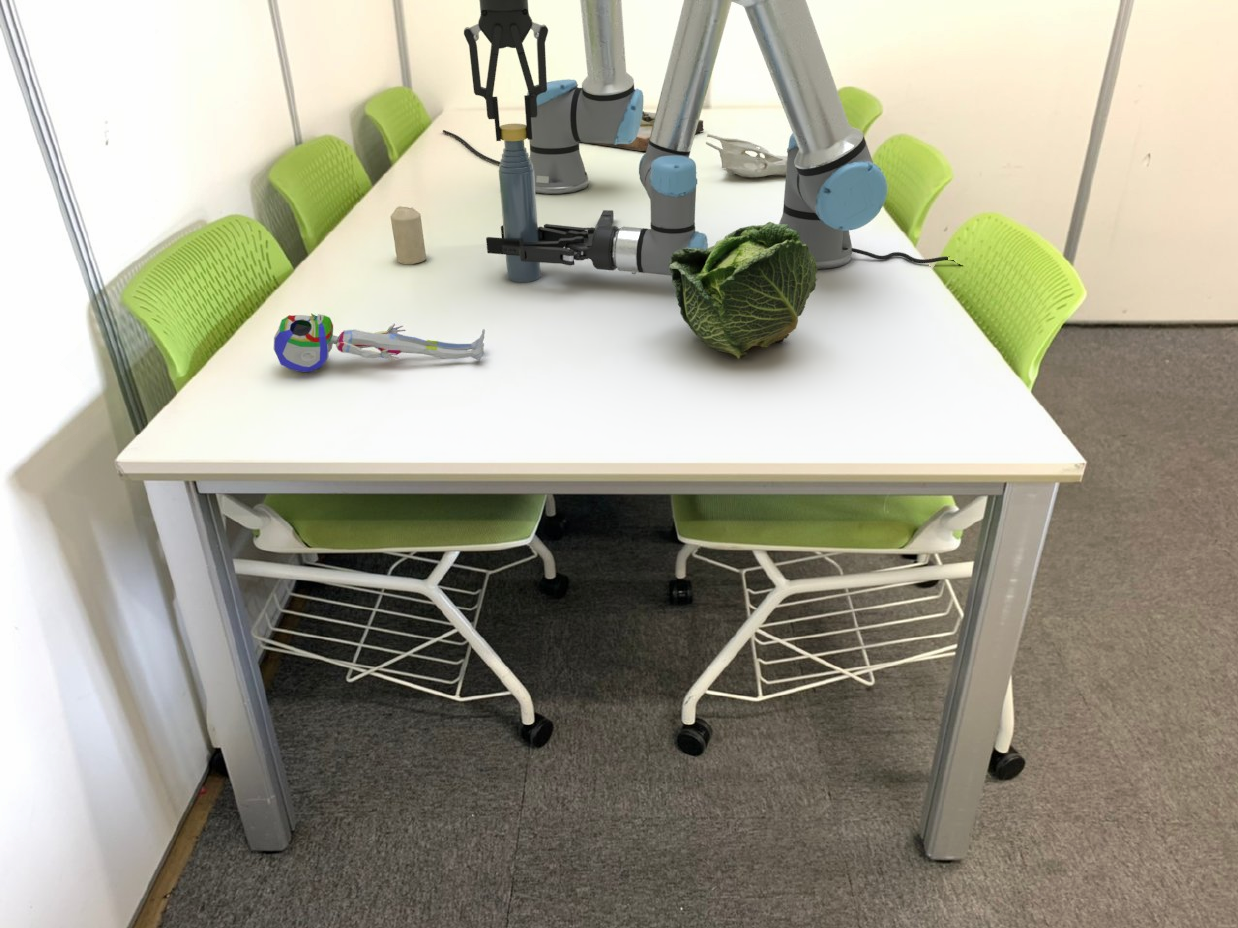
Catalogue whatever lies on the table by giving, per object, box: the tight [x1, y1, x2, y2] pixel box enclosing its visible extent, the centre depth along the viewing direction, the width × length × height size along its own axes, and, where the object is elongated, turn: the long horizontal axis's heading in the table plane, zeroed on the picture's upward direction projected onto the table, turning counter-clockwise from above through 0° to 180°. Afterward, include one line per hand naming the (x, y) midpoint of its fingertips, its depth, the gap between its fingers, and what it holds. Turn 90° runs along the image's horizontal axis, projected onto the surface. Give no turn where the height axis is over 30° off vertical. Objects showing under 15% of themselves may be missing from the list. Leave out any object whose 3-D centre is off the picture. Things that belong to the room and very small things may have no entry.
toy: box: [273, 313, 486, 373], centre depth 132 cm, size 10×8×30 cm
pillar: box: [594, 209, 615, 229], centre depth 182 cm, size 2×2×20 cm
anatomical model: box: [705, 133, 788, 178], centre depth 218 cm, size 15×9×25 cm
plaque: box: [584, 110, 705, 152], centre depth 257 cm, size 30×7×30 cm
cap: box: [500, 123, 528, 142], centre depth 151 cm, size 5×5×2 cm
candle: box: [390, 205, 427, 265], centre depth 169 cm, size 6×6×10 cm
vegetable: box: [669, 221, 818, 360], centre depth 133 cm, size 20×19×20 cm
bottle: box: [498, 140, 542, 283], centre depth 157 cm, size 6×6×25 cm
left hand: (514, 138), depth 151 cm, fingers closed on cap, 4 cm apart
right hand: (495, 239), depth 162 cm, fingers closed on bottle, 6 cm apart
